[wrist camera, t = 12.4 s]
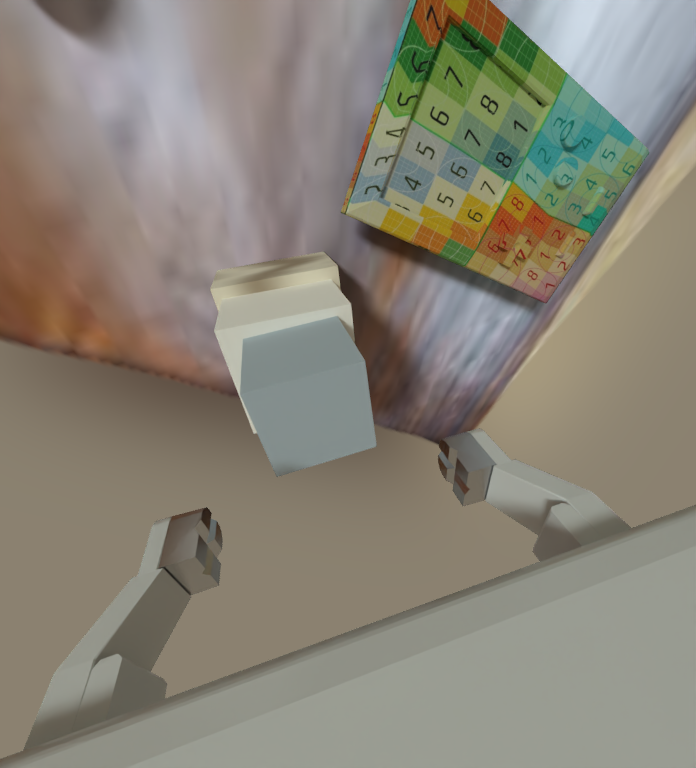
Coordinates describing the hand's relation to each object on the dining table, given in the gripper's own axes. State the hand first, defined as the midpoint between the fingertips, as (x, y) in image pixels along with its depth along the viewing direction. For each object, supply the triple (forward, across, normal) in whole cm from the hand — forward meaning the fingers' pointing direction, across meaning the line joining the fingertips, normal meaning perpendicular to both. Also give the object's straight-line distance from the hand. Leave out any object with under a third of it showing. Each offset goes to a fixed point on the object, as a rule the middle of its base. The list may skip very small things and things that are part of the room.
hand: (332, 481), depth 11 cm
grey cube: (+8, 0, 0) cm, 8 cm away
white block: (+13, 0, +1) cm, 13 cm away
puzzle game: (+19, -16, -7) cm, 26 cm away
